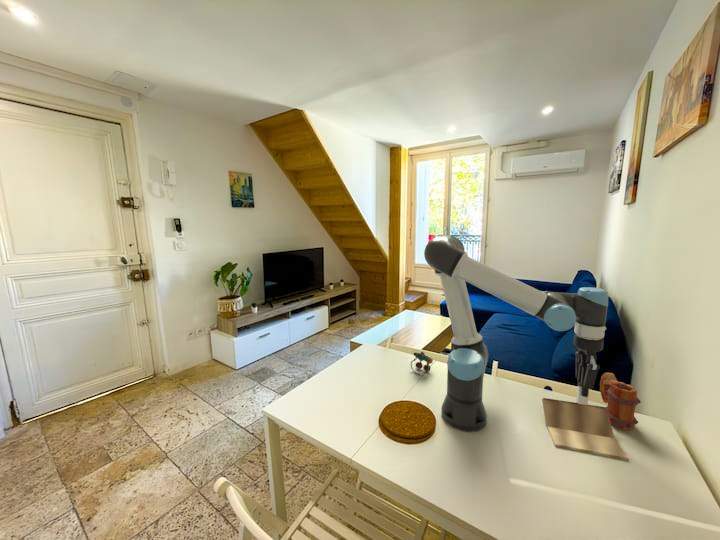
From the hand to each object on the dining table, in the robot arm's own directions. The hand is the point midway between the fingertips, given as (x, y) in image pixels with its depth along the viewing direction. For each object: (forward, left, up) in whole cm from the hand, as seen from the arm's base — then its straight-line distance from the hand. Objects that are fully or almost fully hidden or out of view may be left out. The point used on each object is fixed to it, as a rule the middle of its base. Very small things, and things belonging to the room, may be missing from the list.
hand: (581, 402), depth 97 cm
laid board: (-2, -10, -8) cm, 13 cm away
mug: (+12, +6, -8) cm, 16 cm away
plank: (-2, -2, -5) cm, 5 cm away
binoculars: (-55, +22, -8) cm, 60 cm away
